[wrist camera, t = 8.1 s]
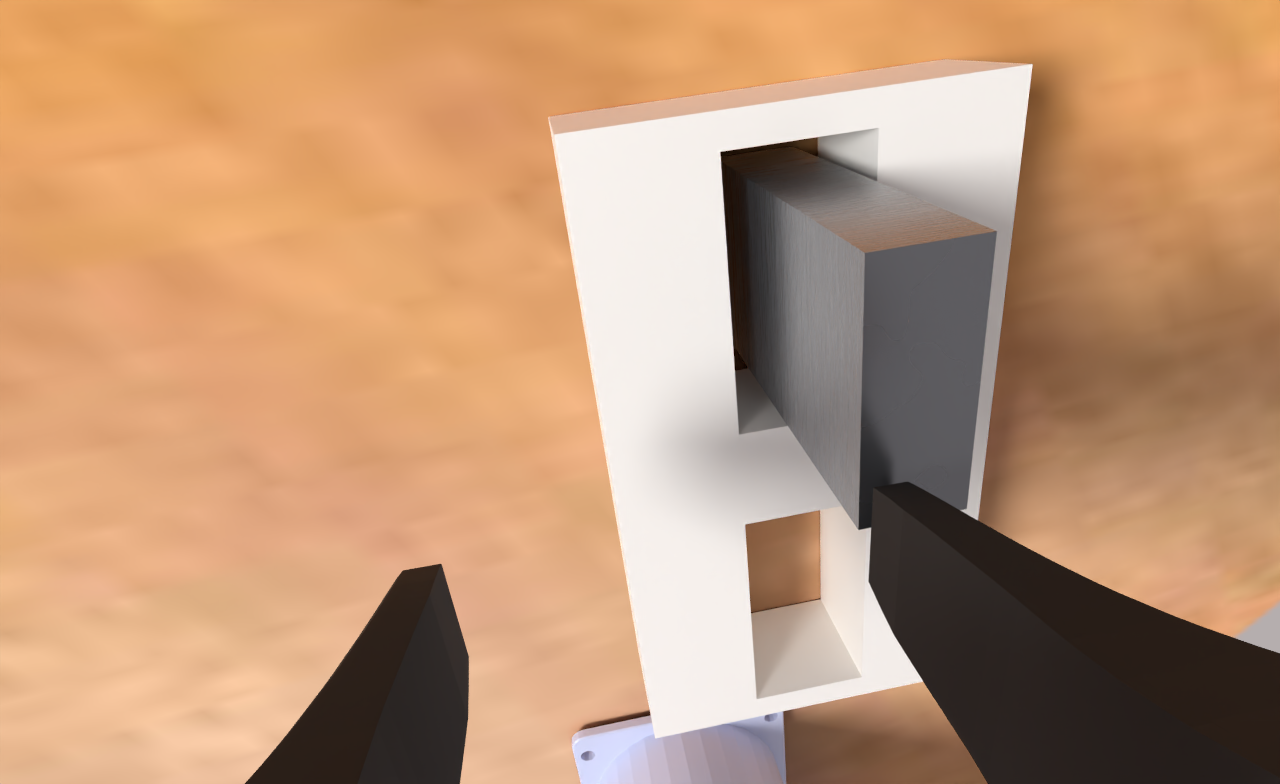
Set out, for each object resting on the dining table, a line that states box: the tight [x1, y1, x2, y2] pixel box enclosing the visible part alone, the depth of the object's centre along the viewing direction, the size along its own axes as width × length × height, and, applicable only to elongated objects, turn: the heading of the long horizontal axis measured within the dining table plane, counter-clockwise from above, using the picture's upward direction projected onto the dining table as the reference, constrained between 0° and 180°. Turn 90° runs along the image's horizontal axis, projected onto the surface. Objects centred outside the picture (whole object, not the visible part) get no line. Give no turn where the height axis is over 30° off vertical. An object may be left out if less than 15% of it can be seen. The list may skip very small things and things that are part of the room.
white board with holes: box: [548, 59, 1033, 739], centre depth 20 cm, size 18×10×4 cm, turn 7°
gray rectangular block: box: [721, 146, 997, 530], centre depth 15 cm, size 5×2×9 cm, turn 7°
